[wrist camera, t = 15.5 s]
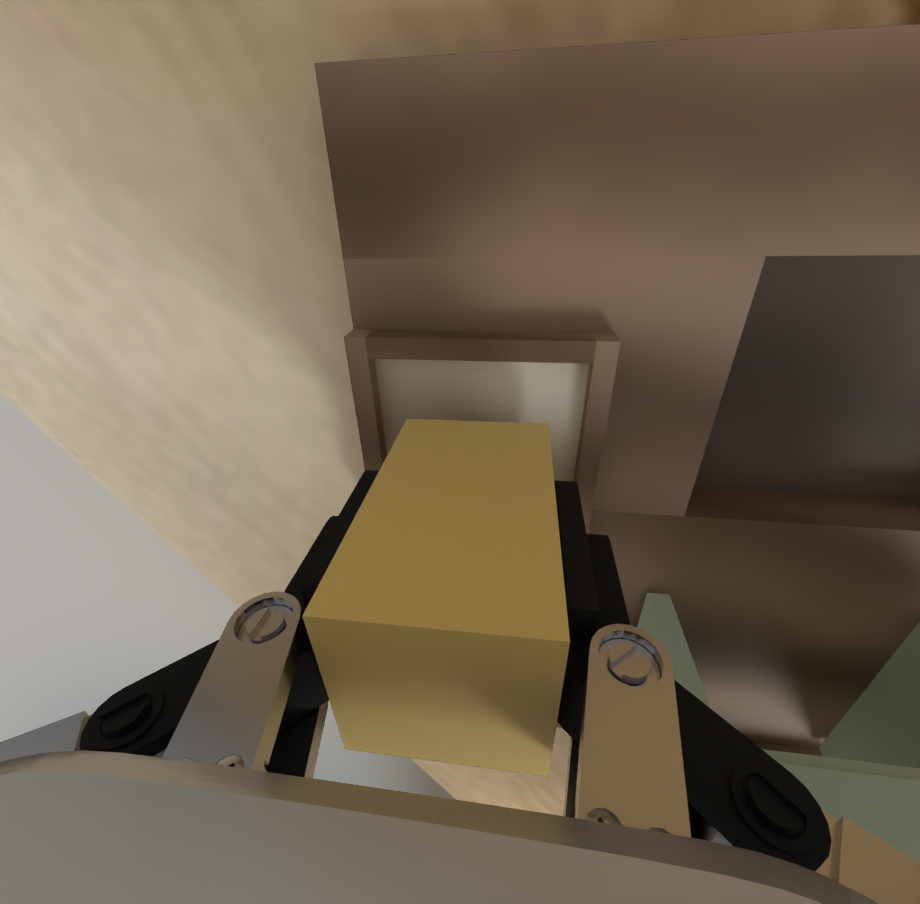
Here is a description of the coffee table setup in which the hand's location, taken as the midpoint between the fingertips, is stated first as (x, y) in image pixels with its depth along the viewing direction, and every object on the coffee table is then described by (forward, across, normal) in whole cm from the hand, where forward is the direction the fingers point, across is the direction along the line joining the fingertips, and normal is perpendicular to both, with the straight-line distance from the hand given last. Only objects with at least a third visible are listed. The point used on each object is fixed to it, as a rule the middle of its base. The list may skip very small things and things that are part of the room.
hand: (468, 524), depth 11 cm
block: (+2, 0, 0) cm, 2 cm away
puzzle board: (+5, -6, +3) cm, 9 cm away
